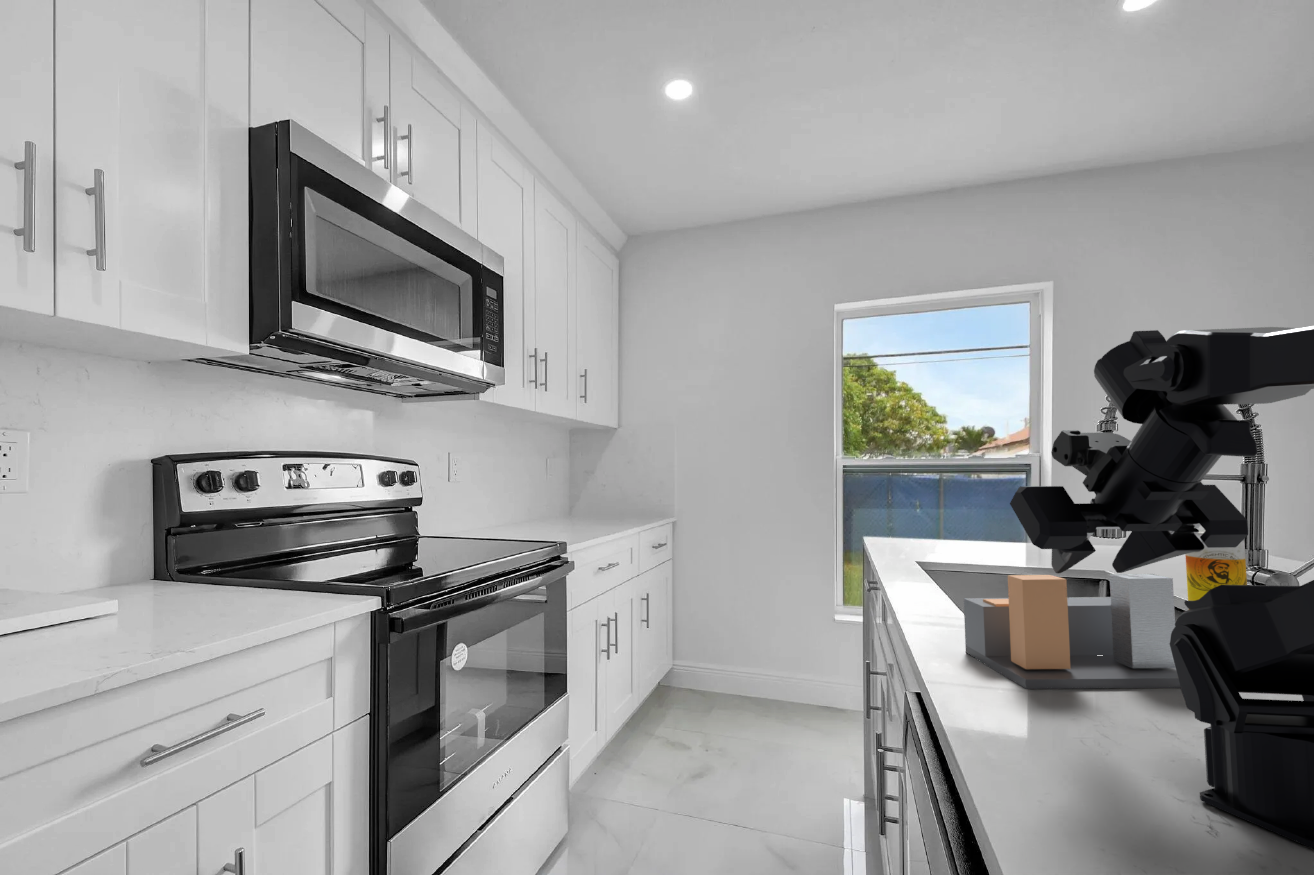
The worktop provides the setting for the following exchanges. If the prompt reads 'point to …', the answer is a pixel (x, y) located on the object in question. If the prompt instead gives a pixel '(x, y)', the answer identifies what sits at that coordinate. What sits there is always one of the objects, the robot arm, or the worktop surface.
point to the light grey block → (1142, 620)
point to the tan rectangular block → (1039, 621)
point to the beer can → (1214, 568)
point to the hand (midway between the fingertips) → (1085, 569)
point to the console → (1086, 641)
